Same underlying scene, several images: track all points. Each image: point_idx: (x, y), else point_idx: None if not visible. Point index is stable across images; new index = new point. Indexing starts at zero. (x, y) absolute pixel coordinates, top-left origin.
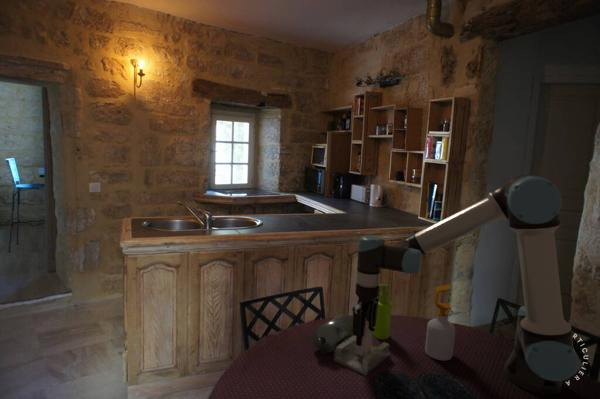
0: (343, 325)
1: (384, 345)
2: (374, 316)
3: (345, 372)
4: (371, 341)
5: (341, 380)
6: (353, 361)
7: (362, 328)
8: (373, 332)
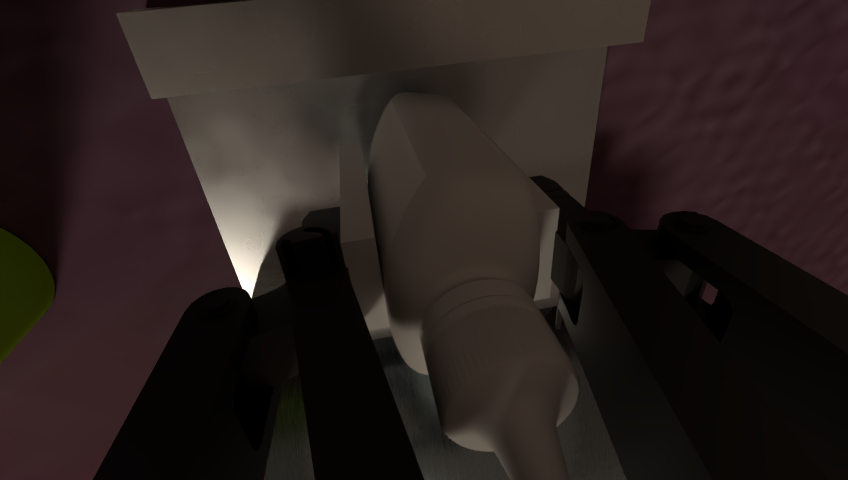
0: (431, 452)
1: (213, 38)
2: (194, 474)
3: (642, 109)
4: (432, 131)
5: (738, 66)
6: (534, 145)
7: (675, 295)
8: (35, 323)
